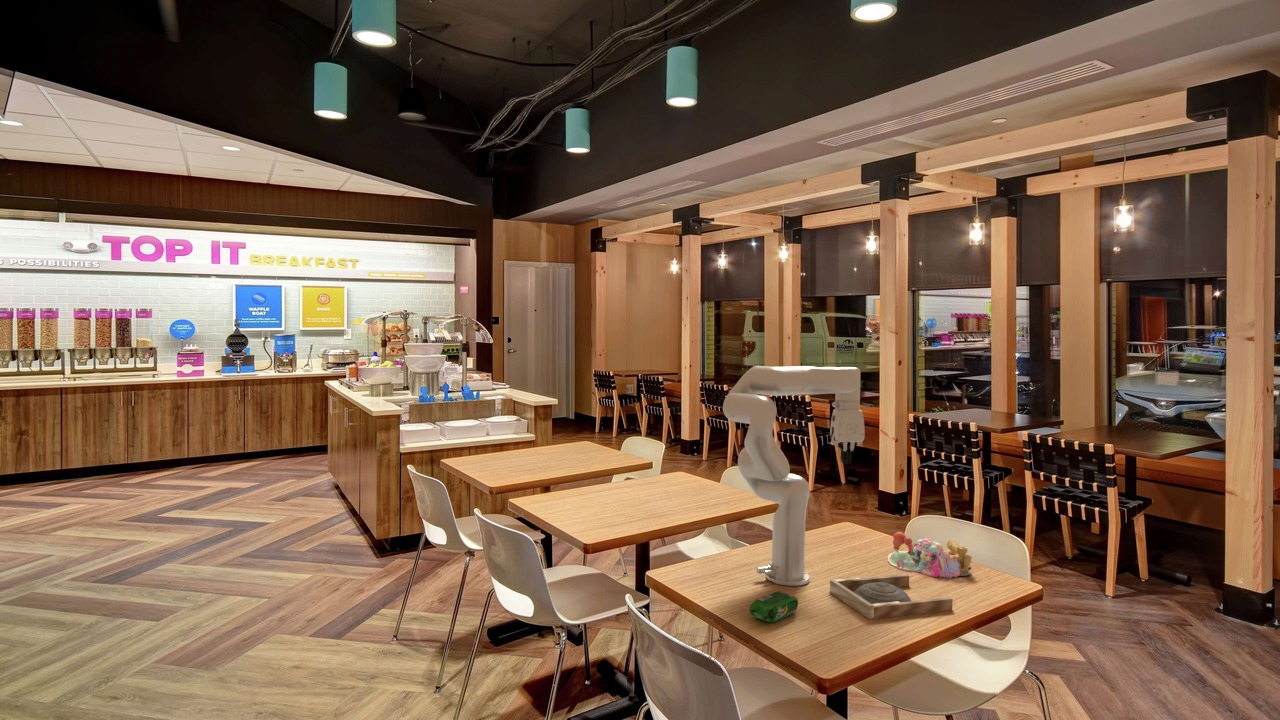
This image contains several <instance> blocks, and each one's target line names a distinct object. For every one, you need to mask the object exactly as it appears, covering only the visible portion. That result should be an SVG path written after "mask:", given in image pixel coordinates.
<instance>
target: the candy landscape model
mask: <svg viewBox="0 0 1280 720" xmlns="http://www.w3.org/2000/svg"><path fill="white" fill-rule="evenodd" d="M892 539H893V541H892V543H893V544H892V545H893V550H894V551H892V552H890V553H889V554H888V556H887V563H889V564H890V566H892V567H893V568H896V569H898V570H900V571H905V572H914V573H920V574H923V575H927V576H929V577H933V578H935V577H936V578H938V577H939V578H942V577H943V578H946V579H948V578H950V579H952V578H953V577H954V578H955V579H957V578H958V577H959V576H960V577H964V576H965V577H966V576H970V575H972V573H973V571H970V570H969V568H971V562H972V557H973V556H971V555H969V554H968V549H967V548H966V546H965V547H964V546H961V547H960V544H959V543H958V542H957V541H956V540H950V539H949V540H948V542H947V545H946V547H944V548H943V545H942V544H941V543H939V542H937V541H934V540H933V539H932V538H928V537H927V538H923V539H921V538H920V539H918V540H916V543H914V544H913V539H912V538H911V537H909V536H906V534H905V533H904V532H902V531H897V532H895V533H894V534H893V538H892ZM902 545H905V546H906V547H907V548H908V550H902V551H901V550H900V547H901V546H902Z"/></svg>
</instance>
